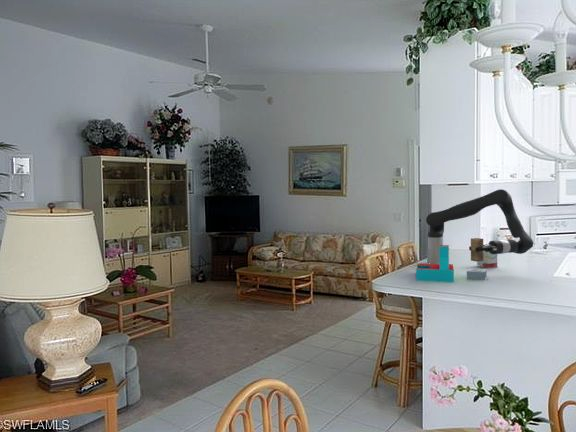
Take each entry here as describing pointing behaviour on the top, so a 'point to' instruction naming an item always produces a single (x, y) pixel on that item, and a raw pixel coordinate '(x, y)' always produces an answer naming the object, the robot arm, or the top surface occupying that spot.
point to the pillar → (475, 255)
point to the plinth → (476, 274)
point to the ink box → (488, 260)
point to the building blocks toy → (437, 268)
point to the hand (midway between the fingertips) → (472, 249)
